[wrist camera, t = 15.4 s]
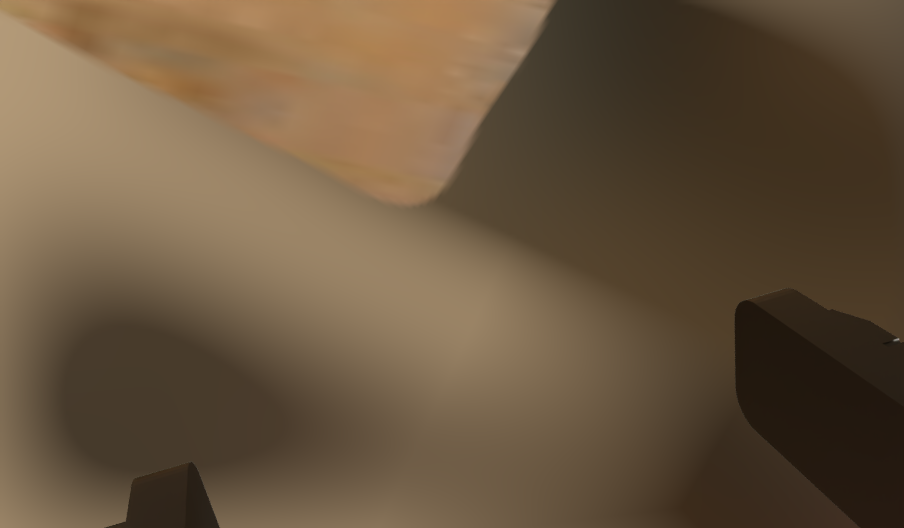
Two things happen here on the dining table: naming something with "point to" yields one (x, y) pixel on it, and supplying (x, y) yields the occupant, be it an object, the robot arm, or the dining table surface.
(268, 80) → the dining table surface
